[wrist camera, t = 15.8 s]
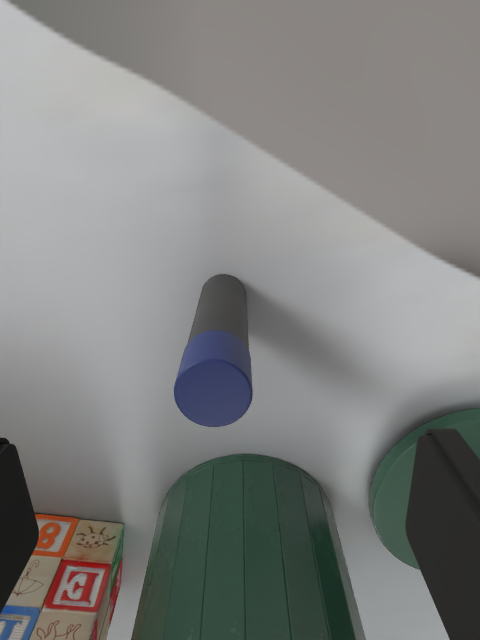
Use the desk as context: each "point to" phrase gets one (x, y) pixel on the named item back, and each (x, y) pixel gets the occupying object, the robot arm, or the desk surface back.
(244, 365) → the cylinder
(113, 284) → the desk surface
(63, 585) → the stack of blocks
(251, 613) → the green hollow cylinder
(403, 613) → the desk surface
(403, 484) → the lid
